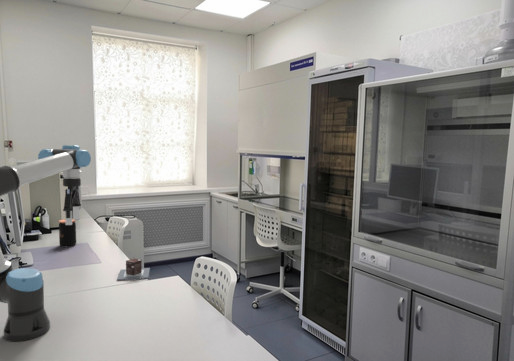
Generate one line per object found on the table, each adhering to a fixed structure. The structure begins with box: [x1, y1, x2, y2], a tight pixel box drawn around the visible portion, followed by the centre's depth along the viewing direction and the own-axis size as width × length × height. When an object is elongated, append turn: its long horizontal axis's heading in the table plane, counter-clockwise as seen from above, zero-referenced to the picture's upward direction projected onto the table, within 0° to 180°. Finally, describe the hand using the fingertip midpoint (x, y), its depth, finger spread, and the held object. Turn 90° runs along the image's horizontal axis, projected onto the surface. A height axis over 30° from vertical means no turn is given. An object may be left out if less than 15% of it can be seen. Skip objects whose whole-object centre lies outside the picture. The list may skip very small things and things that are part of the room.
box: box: [125, 257, 143, 275], centre depth 207 cm, size 6×6×7 cm
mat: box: [116, 267, 151, 282], centre depth 207 cm, size 16×16×1 cm
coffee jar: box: [58, 218, 77, 247], centre depth 265 cm, size 11×11×18 cm
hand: (72, 222), depth 179 cm, fingers open, 13 cm apart
